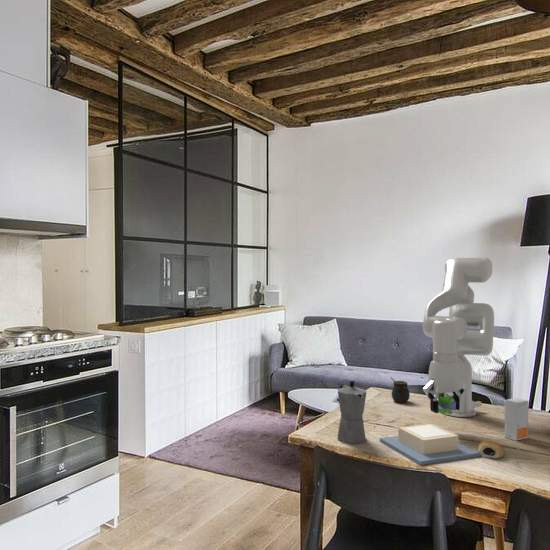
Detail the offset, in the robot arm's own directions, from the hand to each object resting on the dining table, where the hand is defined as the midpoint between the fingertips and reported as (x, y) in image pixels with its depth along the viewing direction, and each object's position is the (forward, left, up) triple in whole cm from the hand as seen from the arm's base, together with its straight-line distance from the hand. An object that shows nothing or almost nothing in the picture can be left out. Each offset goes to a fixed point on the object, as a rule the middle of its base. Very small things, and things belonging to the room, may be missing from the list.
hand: (445, 410), depth 158 cm
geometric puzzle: (0, 0, -2) cm, 2 cm away
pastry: (+1, +21, -7) cm, 22 cm away
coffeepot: (+33, -4, -7) cm, 34 cm away
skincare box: (-17, +13, -7) cm, 22 cm away
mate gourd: (-8, -37, -7) cm, 39 cm away
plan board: (+16, +12, -7) cm, 21 cm away
